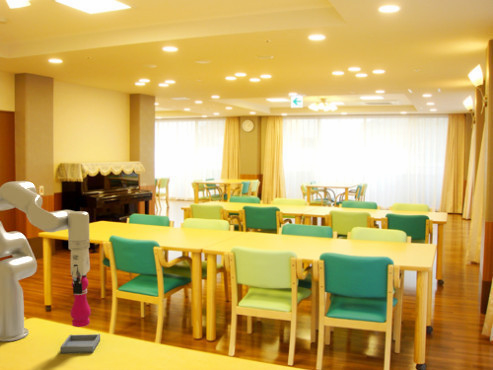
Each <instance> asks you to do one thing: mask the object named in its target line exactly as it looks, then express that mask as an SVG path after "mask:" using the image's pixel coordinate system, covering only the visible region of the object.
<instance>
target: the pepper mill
mask: <svg viewBox="0 0 493 370" xmlns="http://www.w3.org/2000/svg"><path fill="white" fill-rule="evenodd" d="M77 275H80V274H77ZM77 278H79V277H77ZM81 283H82V294H73V295H74V300H73V304H72V307H71V310H70V317H71V318H72V321H71V322H72V323H71V326H72V327H74V328H83V327H86V326H87V327H88V326H89V324H90V322H91V321H90V320H91V319H90V318H89V317H90V315H91V313H92V310H91V307H90V305H89V303H88V300H87V293H88V289H87V287H88V286H89V280H88V278H86V277H83V276H82V277H81ZM71 287H72V288H73V280H72V281H71Z"/></svg>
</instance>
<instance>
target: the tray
mask: <svg viewBox="0 0 493 370" xmlns="http://www.w3.org/2000/svg"><path fill="white" fill-rule="evenodd" d="M100 342H101V334H99V333H98V334H97V333H96V334H69V335H68V337H67V338H66V339H65V340H64V342H63V343H62V344H61V346H60V355H62V354H63V355H65V354H93V353H94V352H95V350H96V348H97V346H98V345H99V343H100Z"/></svg>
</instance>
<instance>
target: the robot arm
mask: <svg viewBox="0 0 493 370" xmlns="http://www.w3.org/2000/svg"><path fill="white" fill-rule="evenodd" d="M42 205H43V197H42V196H41V195H40V194H38V193H37V187H36V186H35V185H34V183H32V182H30V181H28V180H18V181H17V180H16V181H8V182H5V183H3V184H2V185H1V186H0V212H1V211H7V210H11V209H14V208H15V209H18V210H20V211H22V212H23V213H25V215H26V218H27V220H28V222H29V223H30V225H32V226H34V227H36V228H37V229H40V230H42V231H44V232H47V233H56V232H59V231H66V230H67V231H68V232H67V233H68V234H67V237H68V250H70V274H71V276H72V281H73V287H72V294H73V295H74V294H82V283H81V277H82V276H83V277H86V278H87V277H88V275H87V273H88V272H90V271H91V263H90V262H91V261H90V250H89V248H90V246H91V245H90V242H91V241H90V215H89V212H87V211H78V210H77V211H75V210H71V209H63V210H55V211H48V210H46V209H44V208H42ZM8 256H12V257H10V258H5V259H3V260H0V342H2V343H3V342H12V341H13V342H14V341H17V340H21V339H24V338H25V337H27V336H28V335H29V329H28V328H26V327H25V313H24V312H25V305H24V290H23V288H22V286H21V284H20V282H19V281H21V280H23V279H26V278H29V277H31V276H33V275H35V273H36V272H37V270H38V262H37V259H36V257H35V254H34V252H33V250H32V247H31V245H30V243H29V241H28V239H27V237H26V236H25V235H24V234H23V233H22V232H20V231H17V230H15V231H9V232H7V231H6V230H5V228H4V226H3V223H2V221H1V220H0V258H4V257H8ZM77 274H80V275H77ZM77 277H79V278H77ZM87 279H88V278H87Z"/></svg>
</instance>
